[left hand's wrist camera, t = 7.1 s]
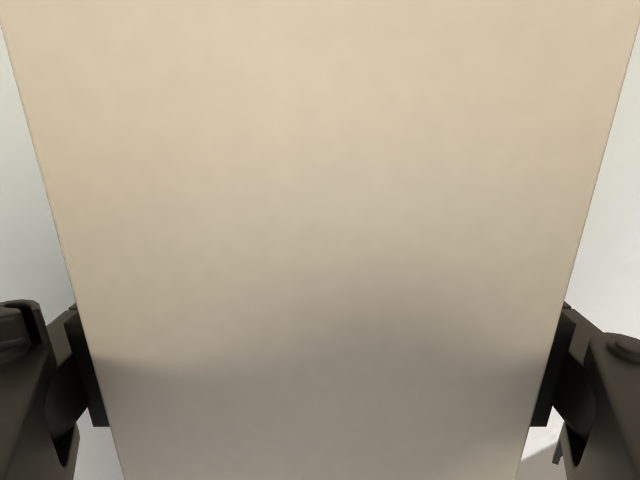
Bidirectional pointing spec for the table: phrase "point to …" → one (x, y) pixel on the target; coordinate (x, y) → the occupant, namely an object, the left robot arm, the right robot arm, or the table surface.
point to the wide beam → (319, 220)
